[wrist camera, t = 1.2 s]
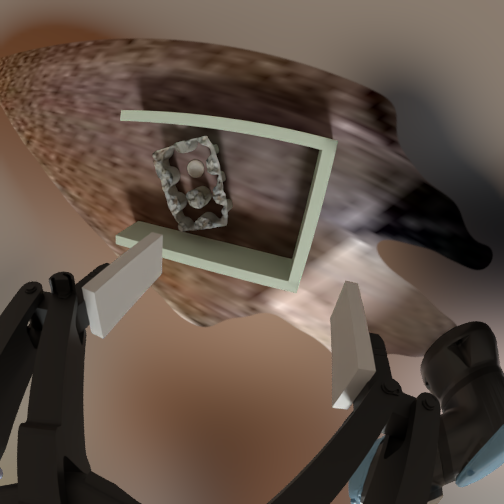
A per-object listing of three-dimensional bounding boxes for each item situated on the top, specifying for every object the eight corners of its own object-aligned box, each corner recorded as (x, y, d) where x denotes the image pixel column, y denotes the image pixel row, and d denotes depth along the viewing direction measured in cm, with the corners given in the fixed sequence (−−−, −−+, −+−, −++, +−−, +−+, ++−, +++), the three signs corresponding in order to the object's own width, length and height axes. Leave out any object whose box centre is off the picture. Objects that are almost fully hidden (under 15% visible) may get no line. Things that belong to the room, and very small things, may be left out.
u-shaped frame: (332, 139, 28) (337, 141, 23) (298, 269, 35) (296, 293, 30) (146, 110, 30) (121, 110, 25) (138, 228, 37) (116, 243, 33)
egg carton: (165, 146, 32) (148, 149, 29) (221, 133, 30) (210, 133, 27) (183, 225, 36) (169, 237, 33) (237, 219, 34) (228, 230, 31)
